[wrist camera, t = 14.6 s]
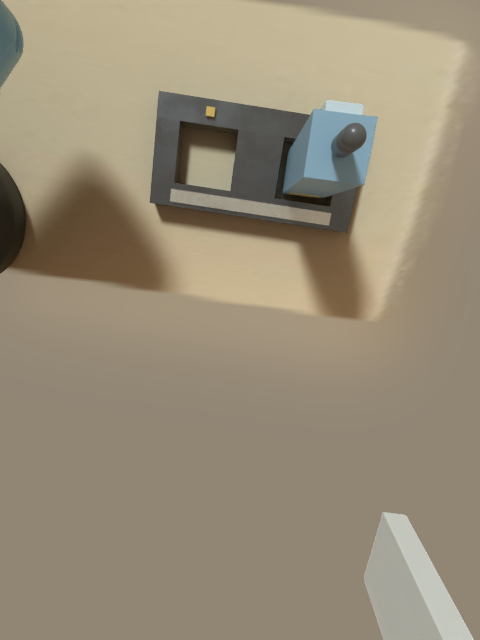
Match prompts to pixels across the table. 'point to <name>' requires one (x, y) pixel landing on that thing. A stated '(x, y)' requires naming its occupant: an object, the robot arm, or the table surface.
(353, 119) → the plug
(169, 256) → the table surface
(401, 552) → the robot arm
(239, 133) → the port panel
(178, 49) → the table surface
